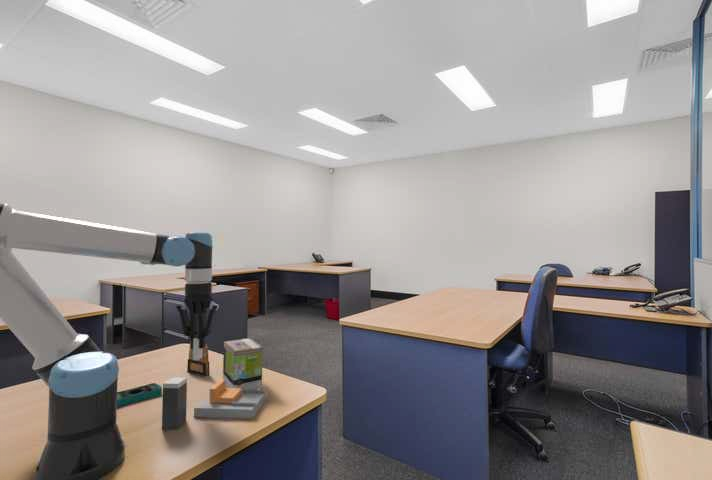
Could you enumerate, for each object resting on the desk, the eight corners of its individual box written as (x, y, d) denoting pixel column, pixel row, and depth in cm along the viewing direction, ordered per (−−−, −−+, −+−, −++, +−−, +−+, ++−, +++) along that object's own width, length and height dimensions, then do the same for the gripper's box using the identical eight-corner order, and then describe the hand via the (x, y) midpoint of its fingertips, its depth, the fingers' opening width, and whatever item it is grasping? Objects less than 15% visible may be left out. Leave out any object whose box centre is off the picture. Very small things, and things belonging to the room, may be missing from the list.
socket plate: (252, 418, 92) (252, 406, 93) (193, 416, 93) (194, 405, 93) (266, 398, 105) (267, 387, 106) (215, 396, 106) (215, 386, 106)
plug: (177, 429, 87) (178, 383, 87) (161, 428, 87) (162, 383, 87) (186, 421, 91) (187, 377, 91) (171, 420, 91) (172, 377, 92)
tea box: (263, 389, 112) (263, 346, 112) (232, 397, 106) (233, 351, 107) (249, 376, 124) (250, 336, 125) (222, 381, 118) (222, 340, 119)
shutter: (232, 403, 96) (233, 389, 96) (209, 402, 96) (209, 389, 96) (242, 393, 103) (242, 380, 103) (220, 392, 103) (220, 379, 103)
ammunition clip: (187, 371, 128) (187, 341, 129) (191, 370, 130) (191, 339, 130) (205, 376, 123) (205, 344, 124) (209, 375, 125) (210, 343, 125)
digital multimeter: (163, 396, 108) (164, 386, 108) (108, 411, 97) (108, 401, 97) (157, 389, 113) (157, 380, 113) (103, 403, 102) (104, 394, 102)
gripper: (224, 281, 105) (224, 355, 104) (185, 281, 105) (184, 354, 105) (213, 283, 97) (212, 363, 97) (170, 283, 98) (169, 362, 97)
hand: (197, 358), depth 101 cm, fingers closed
